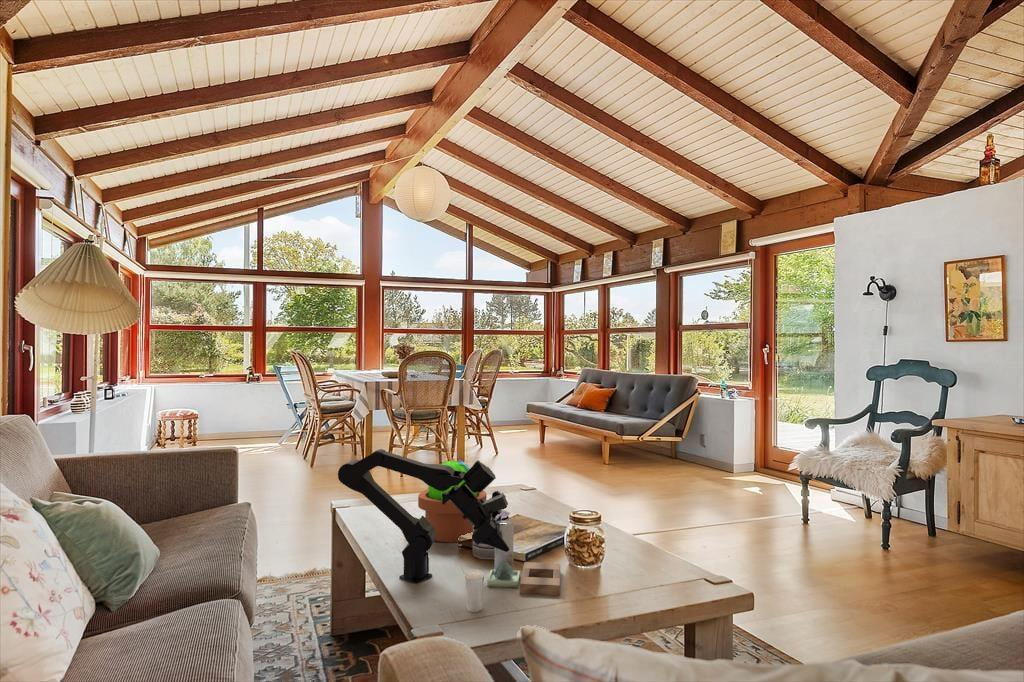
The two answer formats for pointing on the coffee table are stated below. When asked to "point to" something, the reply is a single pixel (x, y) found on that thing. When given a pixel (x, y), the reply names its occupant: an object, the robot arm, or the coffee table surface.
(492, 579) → the tray
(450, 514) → the potted cactus
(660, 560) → the coffee table surface
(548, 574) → the pocket block
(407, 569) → the robot arm
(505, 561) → the steel cylinder
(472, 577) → the milkshake
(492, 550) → the can
